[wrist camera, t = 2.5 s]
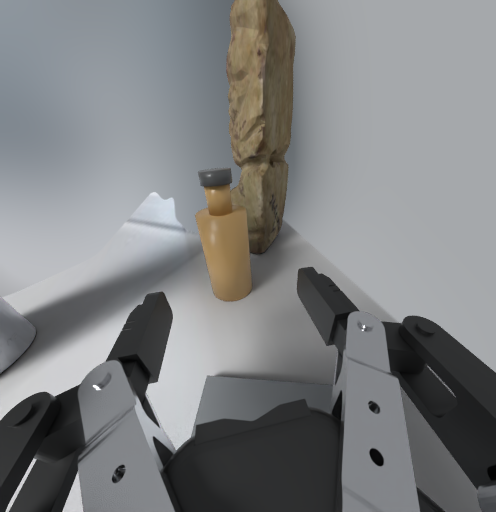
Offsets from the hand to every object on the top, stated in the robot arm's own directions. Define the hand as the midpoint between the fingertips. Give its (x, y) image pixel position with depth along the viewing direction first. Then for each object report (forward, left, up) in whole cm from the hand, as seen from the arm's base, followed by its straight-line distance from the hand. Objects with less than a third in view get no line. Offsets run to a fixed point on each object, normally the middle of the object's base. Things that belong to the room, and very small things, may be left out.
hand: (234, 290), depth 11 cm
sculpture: (0, +25, -10) cm, 27 cm away
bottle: (-3, +11, -10) cm, 15 cm away
